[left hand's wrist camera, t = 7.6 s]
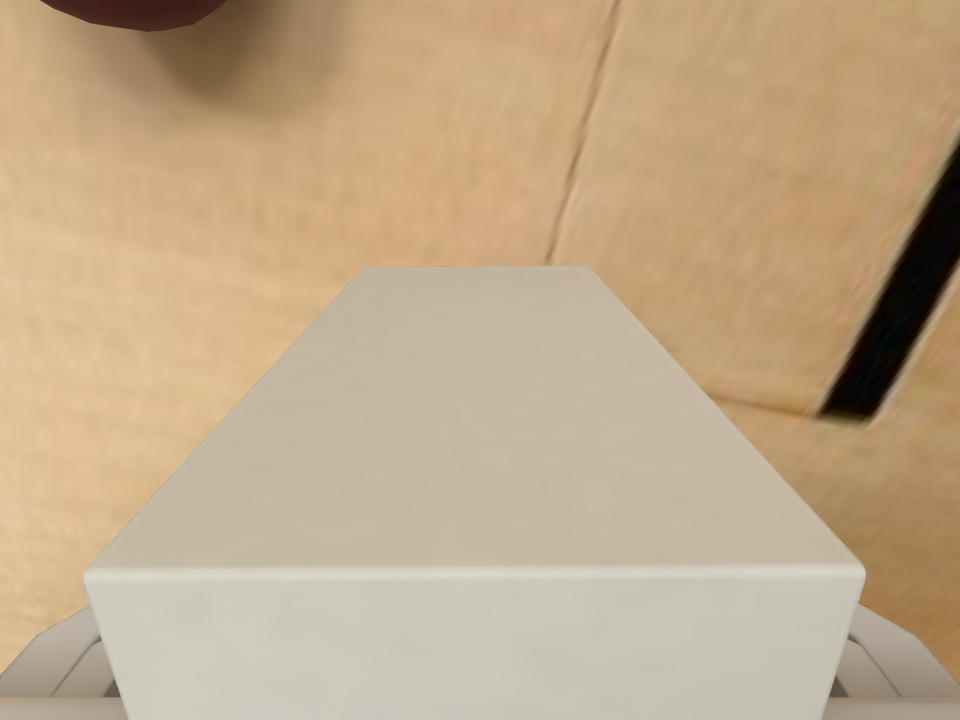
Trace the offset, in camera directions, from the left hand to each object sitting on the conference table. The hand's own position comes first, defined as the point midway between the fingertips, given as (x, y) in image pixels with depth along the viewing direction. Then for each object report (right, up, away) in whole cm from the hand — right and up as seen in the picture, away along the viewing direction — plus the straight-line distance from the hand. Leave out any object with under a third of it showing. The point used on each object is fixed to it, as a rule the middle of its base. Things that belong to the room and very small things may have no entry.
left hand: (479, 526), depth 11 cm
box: (0, -7, +9) cm, 11 cm away
